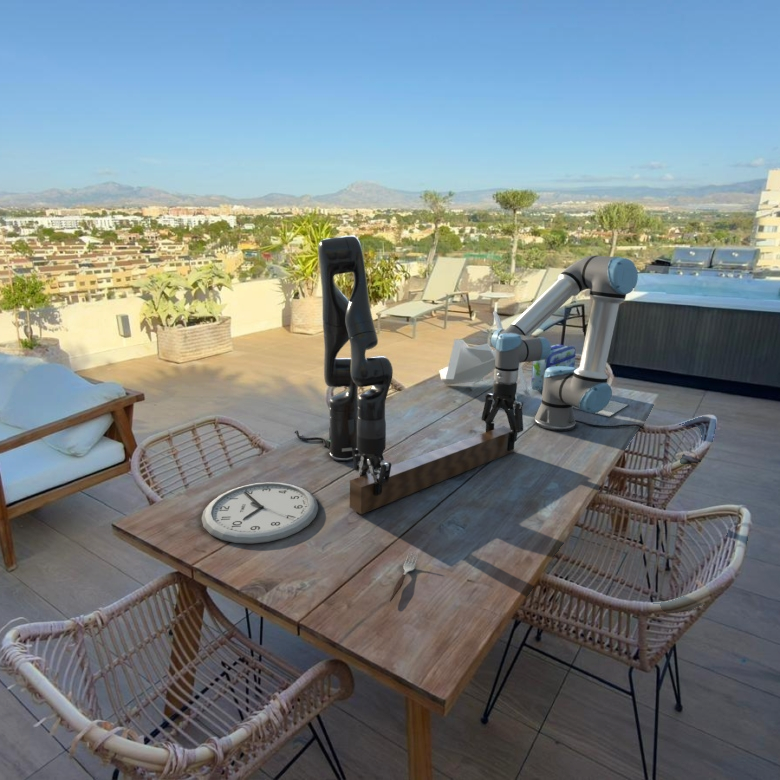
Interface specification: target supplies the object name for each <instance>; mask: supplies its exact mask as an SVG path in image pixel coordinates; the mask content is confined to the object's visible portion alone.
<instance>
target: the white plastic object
mask: <svg viewBox="0 0 780 780" xmlns="http://www.w3.org/2000/svg"><path fill="white" fill-rule="evenodd" d="M492 315H493V319H494V321H495V324H496V325H495V326H496V328H497V330H499V329H504V328H503V325H502V321H501V318H500V315H499V314H498V312H497V311H496V310H495V311H492ZM495 359H496V349H493V348H492V347H491V346H490V344H489V343H488V342H487V343H483V344H479V345H473V346H469V345H468V343H466V342H465V340H464V339H463V338H460V339H458V338H454V340H453V344H452V349H451V353H450V357H449V362H448V366H446V367H444V368H442V369H440V370H439V371H438V372H439V376H440V381H442V383H443V384H444V385H445V386H449V385H458V384H467V383H468V384H469V383H473V384H477V383H480V382H482V381H484V378H485V377H486V376H487V375H489V374H490V373H492V372H494V371H495ZM522 368H523V367H522V366H521V363H519V369H518V380H519V382H520V385H521V389H522V391H523V393H524V395H525V396H526V397H528V396H531V395H530V390H529V388H528V387H529V386H528V384H527V381H526V378H525V375H524V371H523V369H522ZM515 399H516V400H517V393H516V394H515Z"/></svg>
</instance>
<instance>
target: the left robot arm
mask: <svg viewBox="0 0 780 780" xmlns="http://www.w3.org/2000/svg"><path fill="white" fill-rule="evenodd" d="M317 255H318V257H317V258H318V267H319V268H318V269H319V277H320V285H321V294H322V295H321V301H322V302H321V303H322V306H321V307H322V312H321V313H322V314H321V315H322V332H323V343H324V344H323V345H324V356H323V357H324V358H323V377H324V383H325V385H326V386H328V387H329V388H346V389H345V390H344V391H342V392H340V393H338V394H335V395H333V396H331V397H330V398H329V402H328V405H329V406H328V408H329V409H328V410H329V427H328V438H327V439H325V438H323V437H319V436H316V437H301V436H300V433H299V430H297V429H296V430H294V432H293V434H295V435H296V437H297V438H298V439H299V440H301V441H322V442H323V447H324V448H326V447H327V448H328V449H329V457H330V459H332V460H334V461H337V462H351V461H353V468H354V471H357V472H358V475H359V477H361V476H364V475H367V474H369V473H371V475H372V476H373V479H374V495H375V496H378V495H380V494H381V493H382V484H383V483H385V482H388V481H389V475H390V470H391V466H392V463H391V462H386V461H385V460H384V459H385V458H384V451H385V450H386V442H387V441H386V439H387V438H386V437H387V436H386V435H387V424H386V423H387V422H386V400H387V397H388V393H389V390H390V386H391V383H392V380H393V374H394V372H393V370H394V369H393V365H392V362H391V361H390V359H389V358H388V357H386V356H383V355H380V356H373V357H372V356H371V357H366V353H367V352H366V351H369V350H372V349H373V348H375V347H376V346H377V345H378V343H379V339H378V335H377V329H376V327H375V323H374V319H373V315H372V311H371V304H370V297H369V288H368V279H367V273H366V264H365V257H364V252H363V249H362V245H361V242H360V240H359V238H358V237H356V236H355V235H345V236H336V237H329V238H324V239H321V240H320V241H319V243H318V247H317ZM351 273H352V276H353V277H352V278H353V286H352V291H351V295H350V298H349V299H348V297H347V296H346V295H345V294H344V293H343V291H341V290H340V288H339V287H338V285H337V284H336V282H335V276H337V275H343V274H351ZM348 342H349V344H350V357H337V356H338V354H339V352H340V351H341V350H342V349H343V348H344V347H345V345H346V344H347V343H348ZM359 387H360V388H365V387H366V388H367V387H370V389H368V390H367V391H365V392H363V393H361V394H360V395H359ZM358 462H359V463H358ZM368 472H369V473H368ZM377 474H379V478H377Z"/></svg>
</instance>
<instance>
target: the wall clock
mask: <svg viewBox="0 0 780 780" xmlns="http://www.w3.org/2000/svg"><path fill="white" fill-rule="evenodd" d="M318 511H319V505H318V501H317V499H316V498H315V496H314V495H313V494H312V493H310V492H309V491H307V490H306V489H304V488H302V487H299V486H297V485H294V484H290V483H285V482H271V481H269V482H256V483H250V484H246V485H242V486H239V487H235V488H233V489H229V490H227V491H226V492H224V493H221V494H219V495H218V496H217V497H216V498H214V499H213V500H211V502H209V503H208V504H207V506H206V507H205V508H204V510H203V511H202V515H201V523H202V527H203V528H204V530H205V531H207V532H208V533H209V535H211V536H213V537H214V538H217V539H219V540H221V541H225V542H230V543H233V544H234V543H235V544H260V543H261V544H262V543H270V542H273V541H277V540H282V539H285V538H287V537H289V536H292V535H294V534H297V533H299V532H300V531H302V530H303V529H304V528H306V527H308V526H309V525H310V524H311V523H312V522H313V521H314V519H315V518H316V516H317V514H318Z"/></svg>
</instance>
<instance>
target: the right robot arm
mask: <svg viewBox="0 0 780 780" xmlns="http://www.w3.org/2000/svg"><path fill="white" fill-rule="evenodd" d="M638 278H639V274H638V269H637V266H636V264H635V263H634V262H633V261H632V260H631V259H630V258H627V257H620V256H607V255H605V256H603V255H589V256H584V257H583V258H581V259H579V260H577V261H575V262H574V263H572V264H571V265H569V266H568V267H567V268H565V269H564V270H562V272H561V273H560V274H559V275H557V278H556V281H555V282H554V283H553V284H552V285H551V286H550V287H549V288H548V289H547V290H546V291H545V292H544V293H542V294H541V295H540V297H538V298H537V299H536V300H535V301H534V302H533V303H532V304H531V305H530V306H529V307H528V308H527V309H525V310H524V311H523V313H521V314H520V315H519V316H518V317H517V318H516V319H515V320H514V321H513V322H512V323H510V325H509V326H507V327H506V328H503V329H499V330H498V329H497V330H495V331H494V332H493V334H492V335H491V339H490V342H491V346H492V347H493V348H494V350H496V359H495V369H494V372H493V373H494V374H493V380H494V381H493V384H492V391H493V392H488V393H486V394H485V395H484V397H485V398H484V399H485V402H484V405H483V406H484V407H483V409H482V414H481V418H480V419H481V421H482V422H484V423H485V432H488V431H491V430H494V429H495V423H494V422H495V421H494V420H495V418H496V416H497V415H498V412H499V410H500V409H502V410H503V411H504V413H505V414H506V417H507V421H508V425H509V428H510V429H511V432H509V435H508V446H507V451H511V450H513V449H514V450H515V442H517V440H518V434H519V433H521V432H524V418H523V407H524V402H523V401H517V398H516V399H515V394H516V395H517V390H518V383H517V382H518V381H519V376H518V369H519V363H520V364H521V363H529V362H533V361H539V360H544V359H546V358H548V357H549V355H550V353H551V346H552V344H551V342H550V340H549V339H548V338H546V337H539V336H537V337H532V334H534V333H535V332H536V331H537V330H539V328H540V327H541V326H542V325H543V324H545V322H546V321H548V320H549V318H550V317H552V316H553V314H555V313H556V312H557V311H558V310H559V309H560V308H562V306H563V305H564V304H566V302H568V300H570V299H571V298H572V297H575V296H577V295H579V294H580V293H581V292H583V291H585V290H589V297H590V298H591V300H592V303H591V308H590V312H589V313H590V314H589V317H588V323H587V328H586V333H585V338H584V341H583V347H582V352H581V357H580V361H579V362H580V363H579V366H578V367H575V366H574V367H568V366H555V367H549V368H547V369H546V370H545V375H544V378H543V390H542V391H541V402H540V405H539V407H538V410H537V411H536V413H535V415H534V424H535V425H536V426H537V427H539V428H542V429H544V430H549V431H556V432H567V431H572V430H574V429H575V428H576V423H577V424H582V425H585V426H591V427H596V428H607V429H609V428H610V429H611V428H613V429H614V428H620V427H639V428H640V429H641V430H645V427H644V426H642V425H641V424H638V423H633V424H632V423H630V424H627V423H624V424H623V423H622V424H616V425H614V424H613V425H602V424H595V423H588V422H585V421H581V420H578V419H576V418H575V417H576V416H575V413H574V407H576V408H578V409H577V410H580V411H582V412H586V413H589V414H596V413H597V412H599V411H601V410H603V408H605V407H606V406H607V405H608V403H609V401H611V399H612V396H613V389H612V387H611V385H609V383H608V379H609V375H607V373H606V366H607V363H608V358H609V354H610V348H611V343H612V339H613V334H614V330H615V327H616V326H615V325H616V321H617V316H618V312H619V307H620V304H621V303H623V302H624V301H625V300H626V298H627V295H628V294H631V293H632V292H633V291H634V289H635V288H636V286H637V284H638V280H639V279H638ZM576 408H575V409H576Z"/></svg>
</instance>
